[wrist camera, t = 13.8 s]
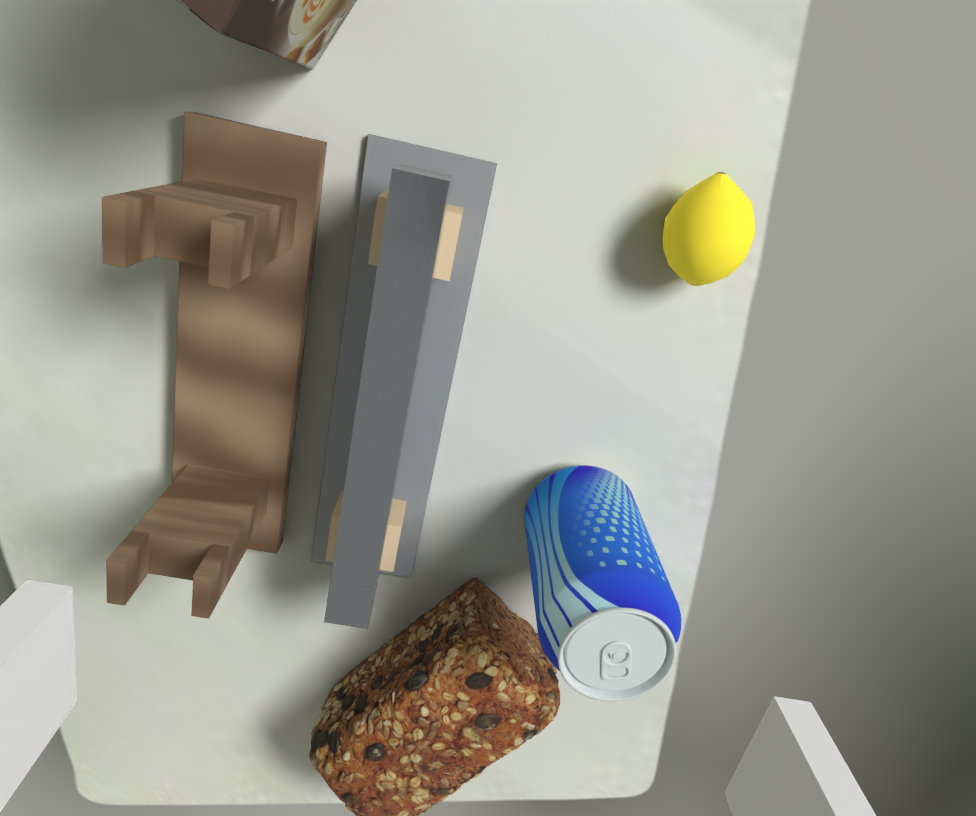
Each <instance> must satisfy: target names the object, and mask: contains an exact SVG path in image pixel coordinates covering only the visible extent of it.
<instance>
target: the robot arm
mask: <svg viewBox="0 0 976 816" xmlns="http://www.w3.org/2000/svg"><path fill="white" fill-rule="evenodd" d="M76 702H77V693H76V666H75V639H74V612H73V587H70V586H64V585H58V584H51V583H45V582H38V581H32V580H26V581H25V582H24V583H23V584H22V585H21V586H20V587H19V588H18V589H17V590H16V591H15V592H14V593H13V594H12V595H11V596H10V597H9V598H8V599H7V600H6V601H5V602H4V603H3V604H2V606H0V812H1V810H2V809H3V807H4V806H5V804H6V803H7V801H8V800H9V799H10V797H11V796H12V794H13V793H14V791H15V790H16V789H17V787H18V786H19V784H20V783H21V781H22V780H23V779H24V777H25V776H26V774H27V773H28V771H29V770H30V768H31V767H32V766H33V764H34V763H35V761H36V760H37V758H38V757H39V755H40V754H41V753H42V751H43V750H44V748H45V747H46V745H47V744H48V742H49V741H50V740H51V738H52V736H53V735H54V734H55V732H56V731H57V730H58V728H59V727H60V725H61V724H62V722H63V721H64V719H65V718H66V717H67V715H68V714H69V712H70V711H71V709H72V708H73V706H74V705H75V704H76ZM725 795H726V798H727V800H728V803H729V806H730V808H731V811H732V814H733V816H876V815H875V813H874V811H873V810H872V808H871V806H870V804H869V803H868V801H867V799H866V798H865V796H864V794H863V792H862V790H861V789H860V787H859V785H858V784H857V782H856V780H855V778H854V777H853V775H852V773H851V771H850V770H849V768H848V766H847V764H846V763H845V761H844V759H843V757H842V756H841V754H840V752H839V751H838V749H837V747H836V746H835V744H834V742H833V740H832V739H831V737H830V735H829V733H828V731H827V730H826V728H825V726H824V725H823V723H822V721H821V719H820V718H819V716H818V714H817V712H816V711H815V709H814V707H813V705H812V704H811V702H806V701H800V700H793V699H786V698H780V697H773V699H772V701H771V703H770V705H769V707H768V709H767V711H766V713H765V715H764V717H763V719H762V721H761V723H760V725H759V727H758V729H757V730H756V732H755V734H754V736H753V738H752V740H751V742H750V744H749V746H748V748H747V750H746V752H745V754H744V756H743V758H742V760H741V762H740V764H739V766H738V767H737V770H736V771H735V773H734V775H733V777H732V779H731V781H730V783H729V785H728V787H727V789H726V791H725Z"/></svg>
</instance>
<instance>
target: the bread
mask: <svg viewBox="0 0 976 816" xmlns="http://www.w3.org/2000/svg"><path fill="white" fill-rule="evenodd" d="M556 673H557V668H556V667H555V666H554V665H553V664H552V663H551V662H550V661H549V659H548V658H547V656H546V655H545V653H544V651H543V649H542V647H541V644H540V641H539V636H538V634H537V633H535V632H534V629H533V628H532V626H531V625H530V624H529V623H528V622H527V621H526V620H524V619H523V618H520V617H518V616H517V615H516V614H514V613H513V612H511V611H510V610H509V609H508V608H507V606H506V605H505V604H504V602H503V601H502V600H501V598H500V597H498V596H497V595H496V594H495V593H493V592H492V591H491V590H489V589H488V588H487V587H486V586H485V585H484V584H483V583H482V582H480V581H479V580H478V579H473V580H469V581H468V582H466V583H465V584H464V585H462V586H461V587H460V588H459V589H458V590H457V591H455V592H454V593H453V594H451V595H450V596H449V597H448V598H446V599H445V600H443V601H441V602H440V603H438V604H437V605H436V607H435V609H433V610H430V611H428V612H427V613H425V614H423V615H422V616H420V617H419V618H418V619H417V620H416V622H415V623H412V624H411V625H410V626H409V627H408V628H407V629H405V630H403V631H402V632H401V633H400V634H399V635H397V636H395V637H394V638H393V639H392V640H391V641H390V642H389V643H386V644H384V645H383V646H382V647H381V648H380V650H379V652H378V653H374V654H372V655H371V656H370V657H369V658H367V659H366V660H365V661H363V662H362V663H361V664H359V665H358V666H357V667H356V668H355V669H354V670H353V671H352V672H350V673H349V674H348V675H347V676H346V677H345V678H344V679H343V680H342V681H341V682H340V683H339V684H338V685H337V686H335V687H333V688H332V689H331V691H330V693H329V695H328V697H327V698H326V699H325V703H324V705H323V706H322V707H321V708H322V714H321V715H320V716H319V717H318V718H317V719H316V721H315V723H314V728H313V731H312V733H311V734H312V739H311V750H310V752H309V753H308V754H307V755H309V756H310V760H311V761H312V763H313V765H314V767H315V769H316V770H317V771H318V772H319V773H320V774H321V775H322V777H323V778H324V780H325V781H326V783H327V784H328V786H329V787H330V788H331V789H332V791H333V792H334V793H335V794H336V795H337V796H338V798H339V799H340V800H341V801H343V802H344V803H345V807H346V808H347V809H348V810H350V811H352V812H353V813H355V815H356V816H419V815H422V814H424V813H425V812H426V810H427V809H428V808H430V807H432V806H433V805H435V804H437V803H439V802H441V801H443V800H444V799H446V798H447V797H448V796H449V795H451V794H453V793H454V792H455V791H456V790H459V789H460V787H461V785H462V784H464V783H466V782H468V781H470V779H472V778H475V777H477V776H478V775H480V774H481V773H482V771H483V770H484V769H485V768H486V767H487V766H489V765H490V764H492V763H494V762H495V761H497V760H498V759H500V758H502V757H503V756H505V755H507V754H508V753H510V752H511V751H513V750H516V749H518V748H519V747H520V746H521V745H522V744H523V743H524V742H526V741H527V740H528V739H531V738H532V737H533V736H534V735H537V734H539V733H540V732H541V731H542V730H543V729H544V728H545V727H546V726H547V725H548V724H549V723H550V722H551V721H553V718H554V717H555V716H556V715H557V712H558V708H559V705H560V691H559V688H558V679H557V677H556V675H555V674H556Z"/></svg>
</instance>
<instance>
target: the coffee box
mask: <svg viewBox="0 0 976 816" xmlns="http://www.w3.org/2000/svg"><path fill="white" fill-rule="evenodd" d="M177 1H179V2H180V3H181V4H182V5H184V6H185V7H186V8H187V9H189V10H190V11H191V12H193V13H194V14H195V15H196V16H198V17H199V18H200V19H201V20H202V21H204V22H205V23H206V24H208V25H209V26H210V27H212V28H213V29H214V30H216V31H217V32H219V33H220V34H223V35H225V36H228V37H231V38H233V39H236V40H239V41H241V42H244V43H246V44H249V45H251V46H254V47H257V48H259V49H262V50H265V51H268V52H270V53H272V54H275V55H277V56H280V57H282V58H285V59H287V60H290V61H292V62H295V63H298V64H300V65H303V66H304V67H306V68H308V69H310V70H312V69H313V68H314V67H315V65H316V64H317V62H318V61H319V59H320V58H321V56H322V54H323V53H324V51H325V50H326V48H327V47H328V45H329V43H330V42H331V40H332V39H333V37H334V36H335V34H336V32H337V31H338V29H339V28H340V26H341V24H342V23H343V21H344V20H345V18H346V17H347V15H348V13H349V12H350V10H351V9H352V7H353V5H354V4H355V2H356V1H357V0H177Z"/></svg>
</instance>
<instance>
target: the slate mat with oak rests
mask: <svg viewBox="0 0 976 816" xmlns="http://www.w3.org/2000/svg"><path fill="white" fill-rule="evenodd" d="M399 164H403V165H408V166H412V167H417V168H421V169H426V170H430V171H434V172H439V173H443V174H448V175H452V180H451V185H450V191H449V196H448V202H447V207H446V213H445V218H444V223H443V229H442V234H441V240H440V245H439V251H438V256H437V261H436V267H435V272H434V278H433V283H432V289H431V294H430V300H429V305H428V310H427V316H426V321H425V327H424V332H423V338H422V343H421V348H420V354H419V359H418V365H417V370H416V376H415V381H414V387H413V392H412V397H411V403H410V408H409V414H408V419H407V425H406V430H405V435H404V441H403V446H402V452H401V457H400V463H399V468H398V474H397V479H396V484H395V490H394V495H393V501H392V506H391V512H390V517H389V522H388V528H387V533H386V539H385V544H384V550H383V555H382V561H381V566H380V571H379V573H384V574H390V575H396V576H402V577H408V578H411V575H412V571H413V566H414V561H415V556H416V551H417V547H418V542H419V537H420V532H421V527H422V522H423V518H424V513H425V508H426V503H427V498H428V494H429V489H430V484H431V479H432V474H433V469H434V465H435V460H436V455H437V450H438V445H439V441H440V436H441V431H442V426H443V421H444V416H445V412H446V407H447V402H448V397H449V392H450V388H451V383H452V378H453V373H454V368H455V363H456V359H457V354H458V349H459V344H460V339H461V335H462V330H463V325H464V320H465V315H466V310H467V306H468V301H469V296H470V291H471V286H472V282H473V277H474V272H475V267H476V262H477V257H478V253H479V248H480V243H481V238H482V233H483V229H484V224H485V219H486V214H487V209H488V204H489V200H490V195H491V190H492V185H493V180H494V175H495V171H496V166H497V163H493V162H488V161H484V160H480V159H475V158H471V157H466V156H462V155H458V154H453V153H449V152H445V151H440V150H436V149H432V148H427V147H423V146H418V145H414V144H410V143H405V142H401V141H397V140H392V139H388V138H384V137H379V136H375V135H371V134H368V141H367V148H366V156H365V163H364V171H363V178H362V186H361V193H360V201H359V208H358V216H357V223H356V230H355V238H354V245H353V253H352V260H351V268H350V275H349V283H348V290H347V298H346V305H345V313H344V320H343V328H342V335H341V343H340V350H339V357H338V365H337V372H336V380H335V387H334V395H333V402H332V410H331V417H330V425H329V432H328V440H327V447H326V455H325V462H324V469H323V477H322V484H321V492H320V499H319V507H318V514H317V522H316V529H315V537H314V544H313V552H312V559H311V562H317V563H323V564H329V565H333V560H334V553H335V546H336V540H337V533H338V526H339V519H340V513H341V506H342V499H343V493H344V486H345V479H346V473H347V466H348V459H349V453H350V446H351V439H352V433H353V426H354V419H355V412H356V406H357V399H358V392H359V386H360V379H361V372H362V366H363V359H364V352H365V346H366V339H367V332H368V326H369V319H370V312H371V306H372V299H373V292H374V285H375V279H376V272H377V265H378V259H379V252H380V245H381V239H382V232H383V225H384V219H385V212H386V205H387V199H388V192H389V185H390V179H391V172H392V168H393V167H395V166H397V165H399Z"/></svg>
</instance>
